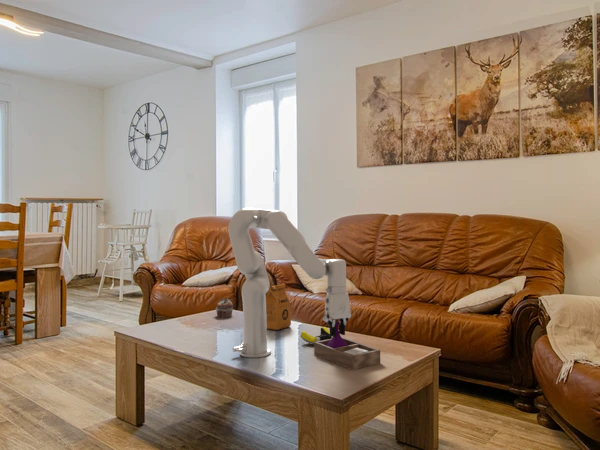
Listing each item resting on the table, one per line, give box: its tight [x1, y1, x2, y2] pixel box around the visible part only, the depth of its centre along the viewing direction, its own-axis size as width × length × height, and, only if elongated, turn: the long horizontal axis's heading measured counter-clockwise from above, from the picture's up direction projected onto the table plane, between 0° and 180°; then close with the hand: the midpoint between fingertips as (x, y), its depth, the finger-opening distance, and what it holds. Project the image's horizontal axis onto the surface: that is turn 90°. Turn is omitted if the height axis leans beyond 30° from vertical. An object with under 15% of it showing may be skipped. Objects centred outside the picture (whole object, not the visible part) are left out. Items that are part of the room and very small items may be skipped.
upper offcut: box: [344, 348, 369, 355], centre depth 182 cm, size 8×6×2 cm
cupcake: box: [215, 298, 234, 318], centre depth 269 cm, size 10×10×10 cm
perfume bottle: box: [326, 319, 348, 348], centre depth 191 cm, size 8×8×18 cm
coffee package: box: [265, 283, 292, 331], centre depth 238 cm, size 10×12×22 cm
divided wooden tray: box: [313, 336, 381, 371], centre depth 187 cm, size 14×24×5 cm, turn 33°
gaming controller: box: [300, 326, 333, 347], centre depth 211 cm, size 15×6×10 cm
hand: (337, 334), depth 191 cm, fingers closed on perfume bottle, 3 cm apart
